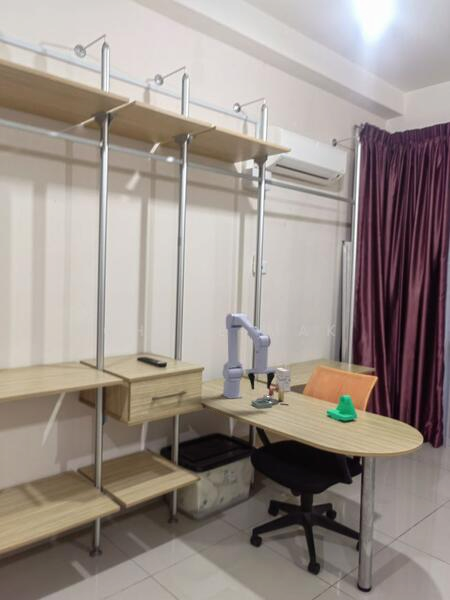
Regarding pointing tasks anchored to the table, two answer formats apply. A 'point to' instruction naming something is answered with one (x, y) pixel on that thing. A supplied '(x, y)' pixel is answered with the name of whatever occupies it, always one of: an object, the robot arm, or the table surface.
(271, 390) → the crank
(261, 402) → the dark gray disc
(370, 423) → the table surface
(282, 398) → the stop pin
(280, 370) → the ink cartridge box
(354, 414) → the camera mount
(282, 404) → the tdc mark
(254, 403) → the tray
